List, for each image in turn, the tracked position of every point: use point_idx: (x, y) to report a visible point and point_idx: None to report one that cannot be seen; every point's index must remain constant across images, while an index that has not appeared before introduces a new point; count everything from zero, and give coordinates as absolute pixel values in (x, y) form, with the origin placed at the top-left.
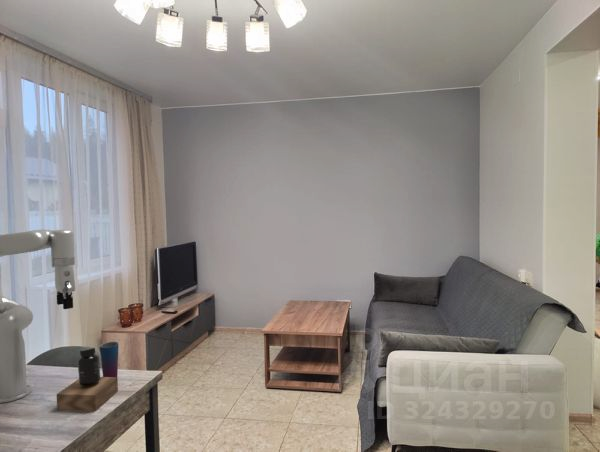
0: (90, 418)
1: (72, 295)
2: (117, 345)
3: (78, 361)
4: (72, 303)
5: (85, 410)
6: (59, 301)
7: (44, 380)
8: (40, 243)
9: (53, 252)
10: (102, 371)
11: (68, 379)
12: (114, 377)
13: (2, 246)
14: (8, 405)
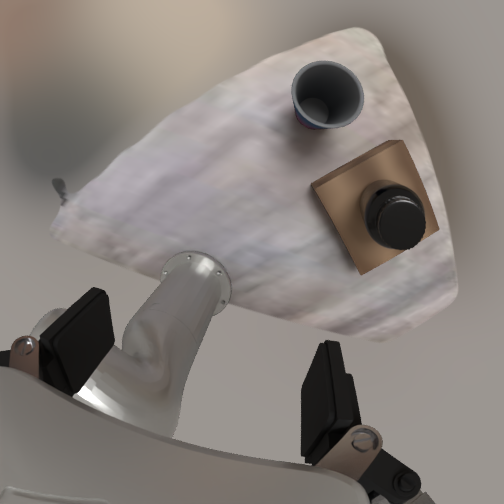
0: (435, 239)
1: (380, 449)
2: (355, 78)
3: (390, 248)
4: (341, 371)
5: None
6: (102, 348)
7: (168, 214)
8: None
9: None
10: (310, 127)
11: (208, 174)
12: (397, 144)
13: None
14: (243, 303)
